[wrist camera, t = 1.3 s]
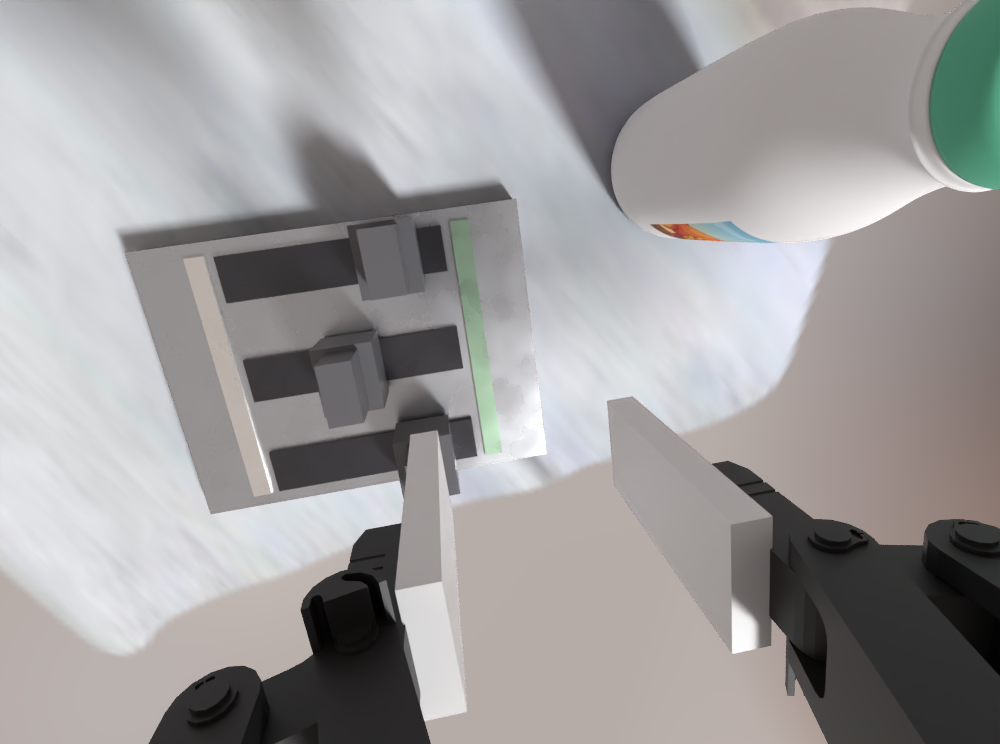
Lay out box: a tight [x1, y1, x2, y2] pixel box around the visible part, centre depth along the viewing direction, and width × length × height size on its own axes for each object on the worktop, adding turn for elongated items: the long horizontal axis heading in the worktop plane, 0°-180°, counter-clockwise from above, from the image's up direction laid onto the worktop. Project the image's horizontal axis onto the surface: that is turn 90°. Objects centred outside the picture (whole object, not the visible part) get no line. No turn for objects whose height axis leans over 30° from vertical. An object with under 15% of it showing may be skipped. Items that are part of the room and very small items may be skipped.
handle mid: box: [309, 330, 389, 429], centre depth 27 cm, size 4×3×5 cm
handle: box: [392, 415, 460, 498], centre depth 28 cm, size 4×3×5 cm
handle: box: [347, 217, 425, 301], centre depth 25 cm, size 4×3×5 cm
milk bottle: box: [611, 0, 1000, 243], centre depth 20 cm, size 8×8×20 cm
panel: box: [125, 199, 547, 514], centre depth 30 cm, size 15×20×2 cm
